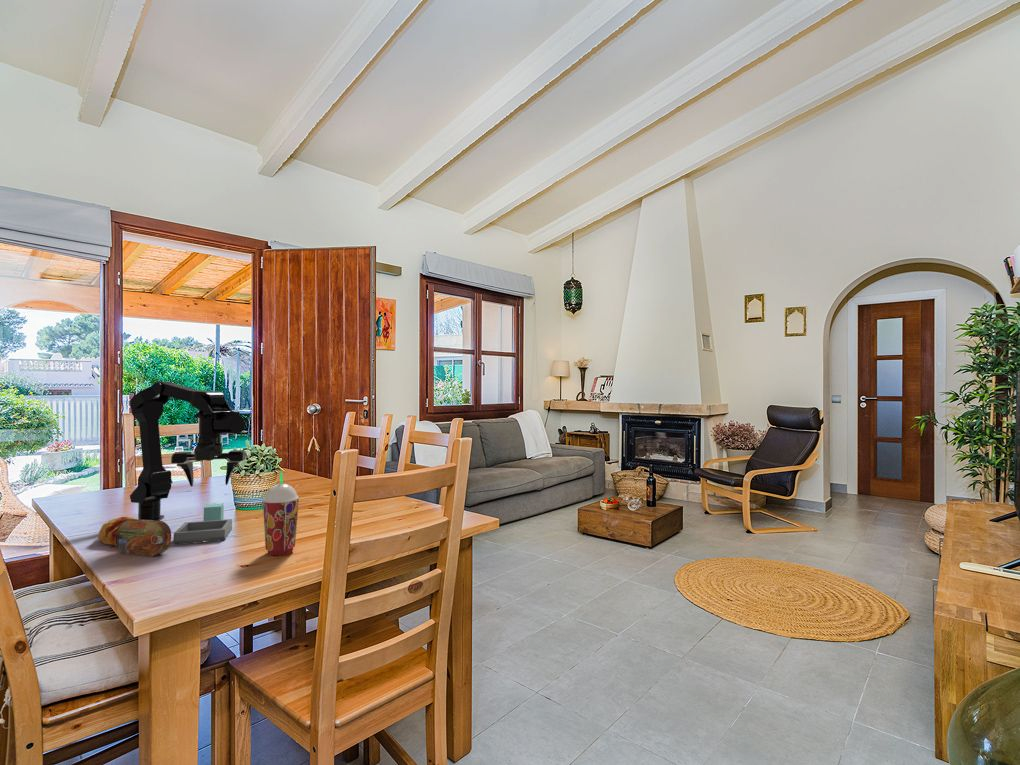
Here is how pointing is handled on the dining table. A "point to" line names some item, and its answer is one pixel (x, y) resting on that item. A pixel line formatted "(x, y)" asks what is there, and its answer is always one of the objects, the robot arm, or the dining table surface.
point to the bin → (202, 531)
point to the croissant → (111, 530)
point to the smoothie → (280, 518)
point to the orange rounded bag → (143, 537)
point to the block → (213, 512)
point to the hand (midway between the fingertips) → (209, 485)
